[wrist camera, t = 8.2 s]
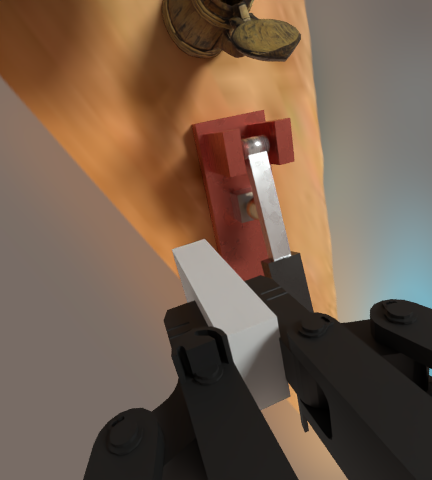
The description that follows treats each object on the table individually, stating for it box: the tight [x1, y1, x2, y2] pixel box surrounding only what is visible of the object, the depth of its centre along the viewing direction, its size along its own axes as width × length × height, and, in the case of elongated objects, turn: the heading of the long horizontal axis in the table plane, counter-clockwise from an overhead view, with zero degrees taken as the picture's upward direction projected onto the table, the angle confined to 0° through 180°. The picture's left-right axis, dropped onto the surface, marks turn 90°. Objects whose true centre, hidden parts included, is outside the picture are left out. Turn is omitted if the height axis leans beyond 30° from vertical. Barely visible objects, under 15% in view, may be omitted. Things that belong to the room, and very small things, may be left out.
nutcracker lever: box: [241, 135, 314, 313], centre depth 39 cm, size 23×4×2 cm, turn 12°
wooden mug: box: [162, 0, 301, 61], centre depth 32 cm, size 9×14×18 cm, turn 19°
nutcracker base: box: [192, 110, 294, 281], centre depth 43 cm, size 25×10×10 cm, turn 12°
